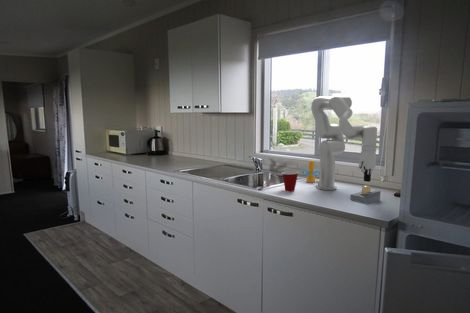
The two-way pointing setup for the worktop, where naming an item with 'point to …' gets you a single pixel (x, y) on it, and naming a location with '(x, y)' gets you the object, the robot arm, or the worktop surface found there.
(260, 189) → the worktop surface
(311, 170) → the toy airplane
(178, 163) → the worktop surface
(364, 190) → the bushing
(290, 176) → the plastic cup
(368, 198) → the jig
